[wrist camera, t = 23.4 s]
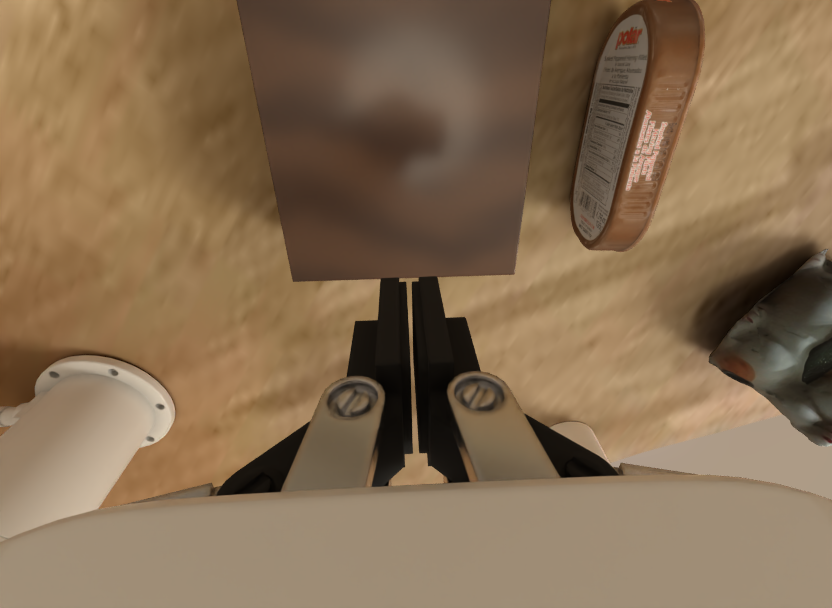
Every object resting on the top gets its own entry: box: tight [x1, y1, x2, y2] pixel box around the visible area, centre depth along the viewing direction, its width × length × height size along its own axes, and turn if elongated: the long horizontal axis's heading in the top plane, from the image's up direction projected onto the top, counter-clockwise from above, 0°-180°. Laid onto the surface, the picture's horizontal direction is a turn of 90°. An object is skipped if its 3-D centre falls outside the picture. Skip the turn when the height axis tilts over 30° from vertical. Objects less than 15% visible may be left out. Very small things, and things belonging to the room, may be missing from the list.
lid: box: [237, 0, 551, 282], centre depth 22 cm, size 18×15×1 cm
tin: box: [570, 0, 705, 252], centre depth 26 cm, size 15×3×8 cm, turn 0°
